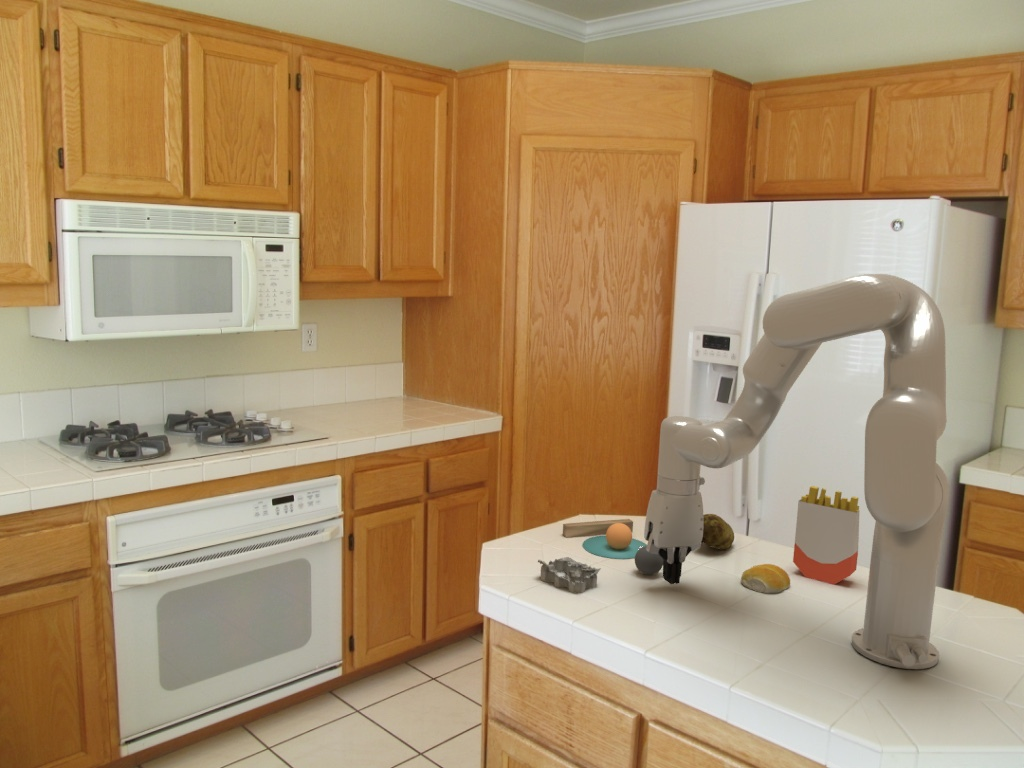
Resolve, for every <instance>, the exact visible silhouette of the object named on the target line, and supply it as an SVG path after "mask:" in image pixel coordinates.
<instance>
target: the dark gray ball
mask: <svg viewBox="0 0 1024 768" xmlns="http://www.w3.org/2000/svg"><path fill="white" fill-rule="evenodd" d="M646 547H647V546H644V547H642V548H640V549H639V550H638V551H637V553H636V555H635V558H634V564H635V567H636V569H637V570H638V571H639V572H640V573H642V574H644V575H646V576H651V575H652V576H653V575H655V574H658V573H659V572H660V571H661V569H663V559H662V558H661V556H660V555H659V554H652V553H649V552H648V551H647V550H646Z"/></svg>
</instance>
